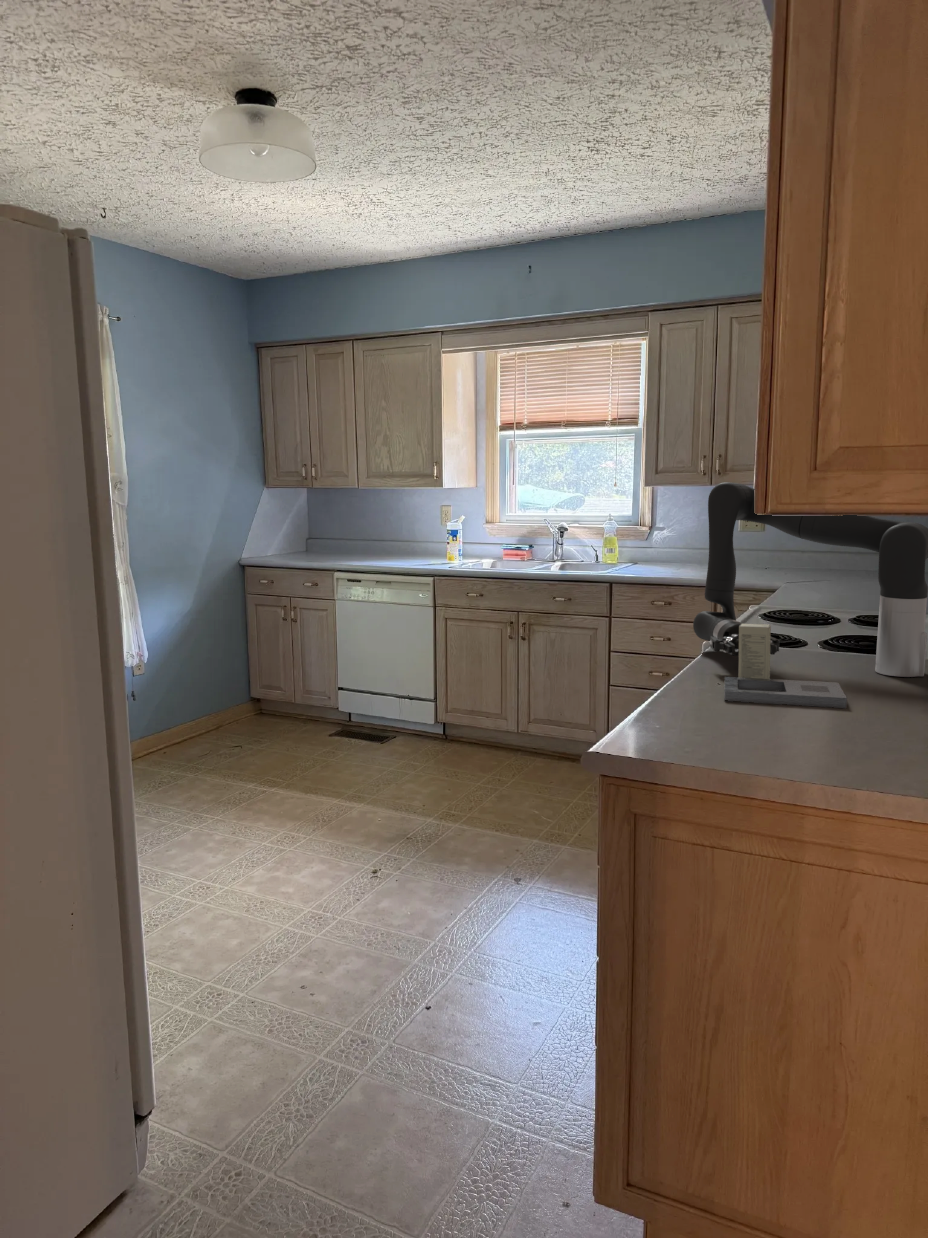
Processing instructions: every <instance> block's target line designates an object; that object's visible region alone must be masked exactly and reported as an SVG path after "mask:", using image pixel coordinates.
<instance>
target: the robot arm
mask: <svg viewBox="0 0 928 1238" xmlns="http://www.w3.org/2000/svg"><path fill="white" fill-rule="evenodd" d="M754 490H755V488H753V487H751V486H748V485H746V484H742V483H740V482H729V481H728V482H727V481H726V482H724V481H723V482H721V483H718V484H716V485H715V486H714V487H712V489H711V491H710V492H709V494H708V500H707V514H708V517H707V518H708V561H707V562H708V563H707V571H706V572H707V573H706V579H705V588H704V599H705V600H706V601H708V602H710V603H714V604H716V605H717V604H718V605H720V607H721V609H722V612H721V611H710V610H709V611H708V610H704V611H703V610H702V611H701V612H698V613H697V614H696V616H695V617H694V619H693V622H692V623H693V624H692V626H693V631H694V633H695V635H696V636H697V637H698V638H699V639H701V640H703V641H709V643H710V644H709V647H710V649H711V650H713V652H715V653H720V651H722V652H723V653H726V654H728V655H731V656H734V657H739V626H740V625H741V624H742V622H740V621H739V620H737V618H736V617H737V616H736V612H735V603H734V597H735V596H734V594H735V586H736V577H737V562H736V557H735V555H736V554H735V551H734V550H735V549H734V548H735V547H734V530H735V526H736V522H737V521H743V522H744V521H745V522H752V523H756V524H757V523H758V524H763V525H766V526H769V527H773V528H775V529H777V530H779V531H780V532H783V533H785V534H787V535H791V536H792V537H796V538H799V539H802V540H805V541H809V542H813V543H817V544H818V543H819V544H822V545H829V546H830V545H831V546H839V547H846V548H847V547H849V548H859V549H864V550H868V551H869V550H870V551H872V552H876V553H878V575H877V577H878V578H877V579H878V584H879V585H878V586H879V587H880V590H879V605H878V607H879V609H878V625H877V635H876V636H877V637H876V639H877V640H876V651H875V653H876V654H875V662H874V663H875V668H874V670H875V672H876V673H878V674H880V675H884V676H891V677H904V678H910V677H911V678H913V677H915V678H916V677H924V676H925V669H926V667H925V666H926V653H927V641H928V640H927V638H928V633H926V620H927V619H926V618H927V604H928V603H927V602H928V584H927V582H926V577H925V576H926V560H928V527H927V526H926V525H923V524H921V523H919V522H910V521H909V522H908V521H900V520H899V521H898V520H891V519H885V518H878V517H873V516H870V515H867V516H857V515H843V516H772V515H757V514H755V513H754ZM780 642H781V641H780V639H778V638H776V637H773V636H770V656H772V655H775V654H776V653H778V652H780Z"/></svg>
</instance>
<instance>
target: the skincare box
mask: <svg viewBox="0 0 928 1238" xmlns="http://www.w3.org/2000/svg"><path fill="white" fill-rule="evenodd" d="M741 623H742V622H741ZM771 629H772V626H771V624H770V623H769V624H766V623H765V624H764V623H763V624H762V623H742V624H741V625H740V626H739V656H738V670H737V671H738V675H737V676H738V677H740V678H759V679H771V654H770V636H771V635H772V634H771V633H772V632H771V631H772V630H771ZM771 637H772V636H771Z"/></svg>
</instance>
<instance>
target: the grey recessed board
mask: <svg viewBox="0 0 928 1238" xmlns="http://www.w3.org/2000/svg"><path fill="white" fill-rule="evenodd" d="M723 686H724V687H723V688H724V692H723V693H724V699H723V700H728V701H727V702H733V701H741V702H740V703H749V702H754V703H753V704H770V705H782V704H787V706H799V705H802V706H803V707H817V708H819V707H820V708H832V707H834V708H836V709H847V703H848V702H847V699H848V697H847V696H846V694H845V693H844V691H843V689H842V686H841V685H840V684H839V682H834V681H832V682H831V681H816V680H815V681H814V680H813V681H812V680H795V679H794V680H793V679H775V678H770V679H759V678H740V677H737V676H736V677H735V676H724V685H723Z"/></svg>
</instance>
